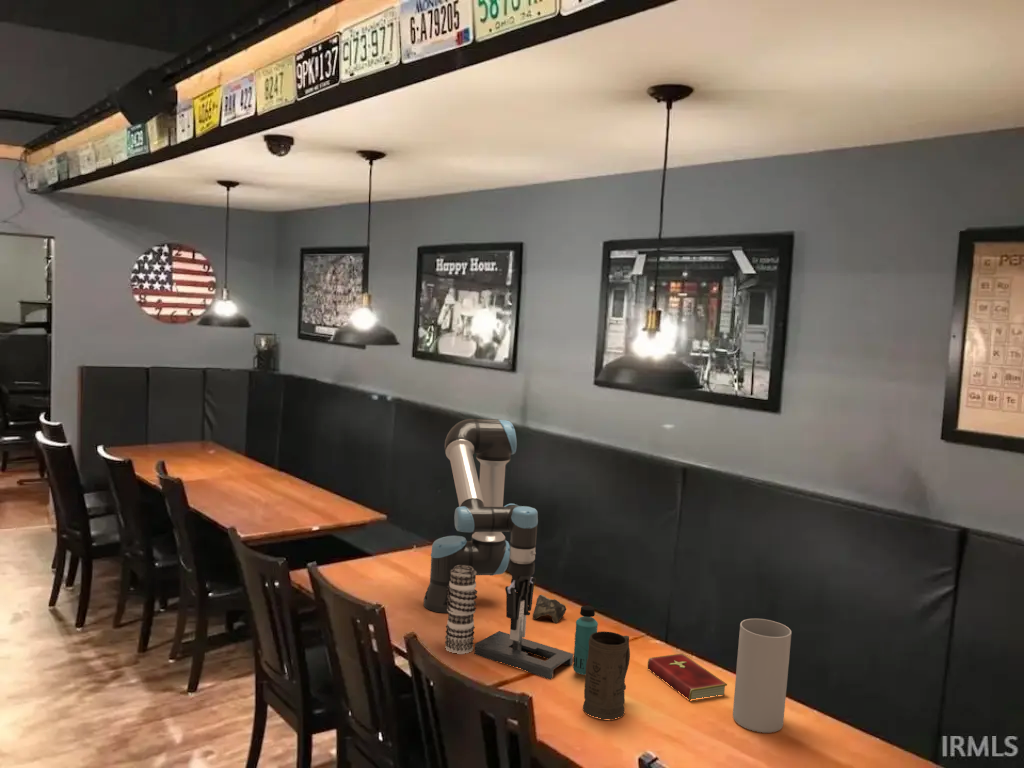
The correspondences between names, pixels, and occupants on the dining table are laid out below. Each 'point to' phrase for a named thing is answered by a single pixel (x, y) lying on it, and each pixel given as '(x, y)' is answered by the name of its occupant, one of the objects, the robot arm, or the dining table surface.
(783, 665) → the cylinder vase
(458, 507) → the robot arm
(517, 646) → the steel peg
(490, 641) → the keyhole plate
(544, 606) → the fossil
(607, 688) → the beer stein
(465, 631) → the decorative candle
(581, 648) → the beverage bottle
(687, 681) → the hardcover book
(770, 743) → the dining table surface
